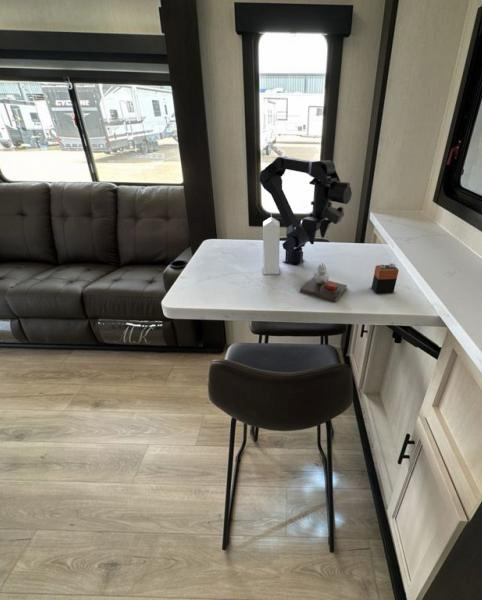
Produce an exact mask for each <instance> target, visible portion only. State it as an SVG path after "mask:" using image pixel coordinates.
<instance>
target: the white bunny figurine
mask: <svg viewBox="0 0 482 600" xmlns="http://www.w3.org/2000/svg"><path fill="white" fill-rule="evenodd" d="M316 271H317V272H315V273H313V275H312V278H314V280H315V281H316V282H317V283H318V284H324V283H326V282H327V281H329V279H330V276H329V274H328V272H327V267H326V264H324V262H322V263H321V264H319V265H318V266H317V270H316Z"/></svg>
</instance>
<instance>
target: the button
mask: <svg viewBox="0 0 482 600" xmlns="http://www.w3.org/2000/svg"><path fill="white" fill-rule="evenodd" d="M336 283H337V282H336ZM336 283H335V281H332V282H326V287H325V288H326V289H327V290H336V286H337V284H336Z"/></svg>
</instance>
